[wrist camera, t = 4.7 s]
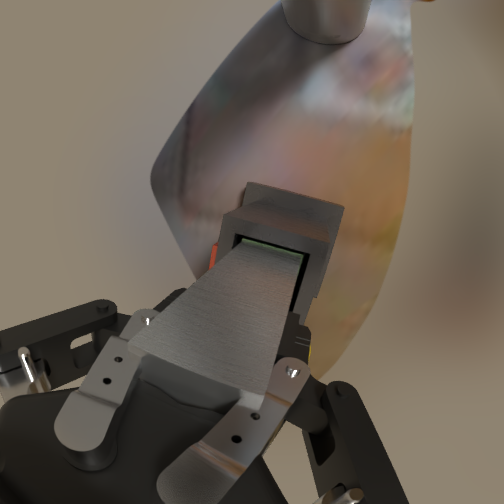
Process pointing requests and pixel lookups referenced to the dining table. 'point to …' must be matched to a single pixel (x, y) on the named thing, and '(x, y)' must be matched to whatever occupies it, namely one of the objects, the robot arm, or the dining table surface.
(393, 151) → the dining table surface
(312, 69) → the dining table surface
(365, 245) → the dining table surface
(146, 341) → the column
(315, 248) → the stand base
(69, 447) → the robot arm
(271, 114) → the dining table surface
